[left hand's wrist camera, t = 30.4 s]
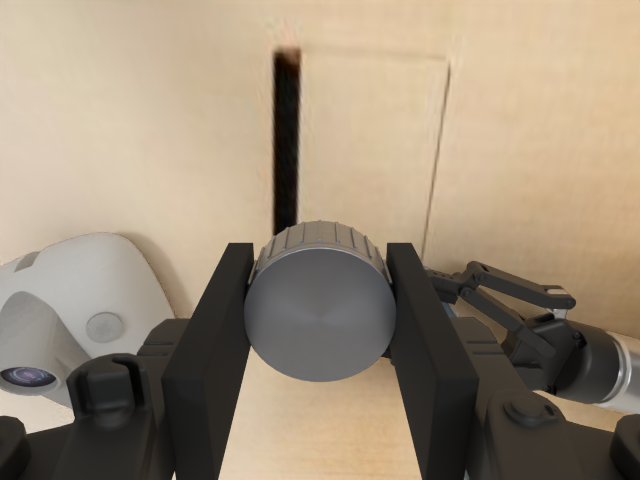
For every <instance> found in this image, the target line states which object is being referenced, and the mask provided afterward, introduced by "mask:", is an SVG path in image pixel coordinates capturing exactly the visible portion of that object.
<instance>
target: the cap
mask: <svg viewBox="0 0 640 480" xmlns="http://www.w3.org/2000/svg"><path fill="white" fill-rule="evenodd" d="M247 285H248V286H249V287H248V290H247V293H246V296H245V300H244V320H245V332H246V335H247V338H248V340H249V342H250V344H251V346H252V347H253V349H254V350H255V352H256V353H257V354H258V355H259V356H260V358H261V359H262V360H264V361H265V362H266V363H267V364H268V365H269V366H271V367H272V368H274V369H275V370H277V371H279V372H281V373H283V374H285V375H287V376H290V377H292V378H296V379H300V380H304V381H311V382H329V381H336V380H341V379H344V378H348V377H350V376H353V375H355V374H358V373H359V372H361V371H363V370H365V369H366V368H368V367H369V366H371V365H372V364H373V363H374V362H375V361H377V360H378V359H379V358H380V357H381V355H382V354H383V353H384V352H385V350H386V349H387V347H388V346H389V344H390V342H391V340H392V338H393V336H394V333H395V325H396V310H397V304H396V299H395V296H394V293H393V290H392V286H391V285H393V282H392V279H391V276H390V273H389V270H388V267H387V264H386V261H385V260H383V259H382V257H381V255H380V252H379V249H378V247H375V246H374V245H373V244H372V243H371V242H370V241H369V240H368V237H367V236H366V235H365V236H364V235H362V234H361V233H359V232H358V231H356V230H354V228H353V227H351V228H350V227H348V226H345V225H342V224H339V223H338V222H335V223H334V222H327V221H321V220H318V221H313V222H306V223H304V222H302V223H301V224H298V225H295V226H292V227H290V228H289V227H287V228H286V230H284V231H283V232H281V233H279V234H278V235H277V236H273V237H272V240H271V241H270V242H269V243H268V244H267V245H266V246H265V248H264V247H262V249H261V252H260V255H259V257H258V260H255V262H254V265H253V268H252V271H251V274H250V277H249V280H248V283H247Z"/></svg>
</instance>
